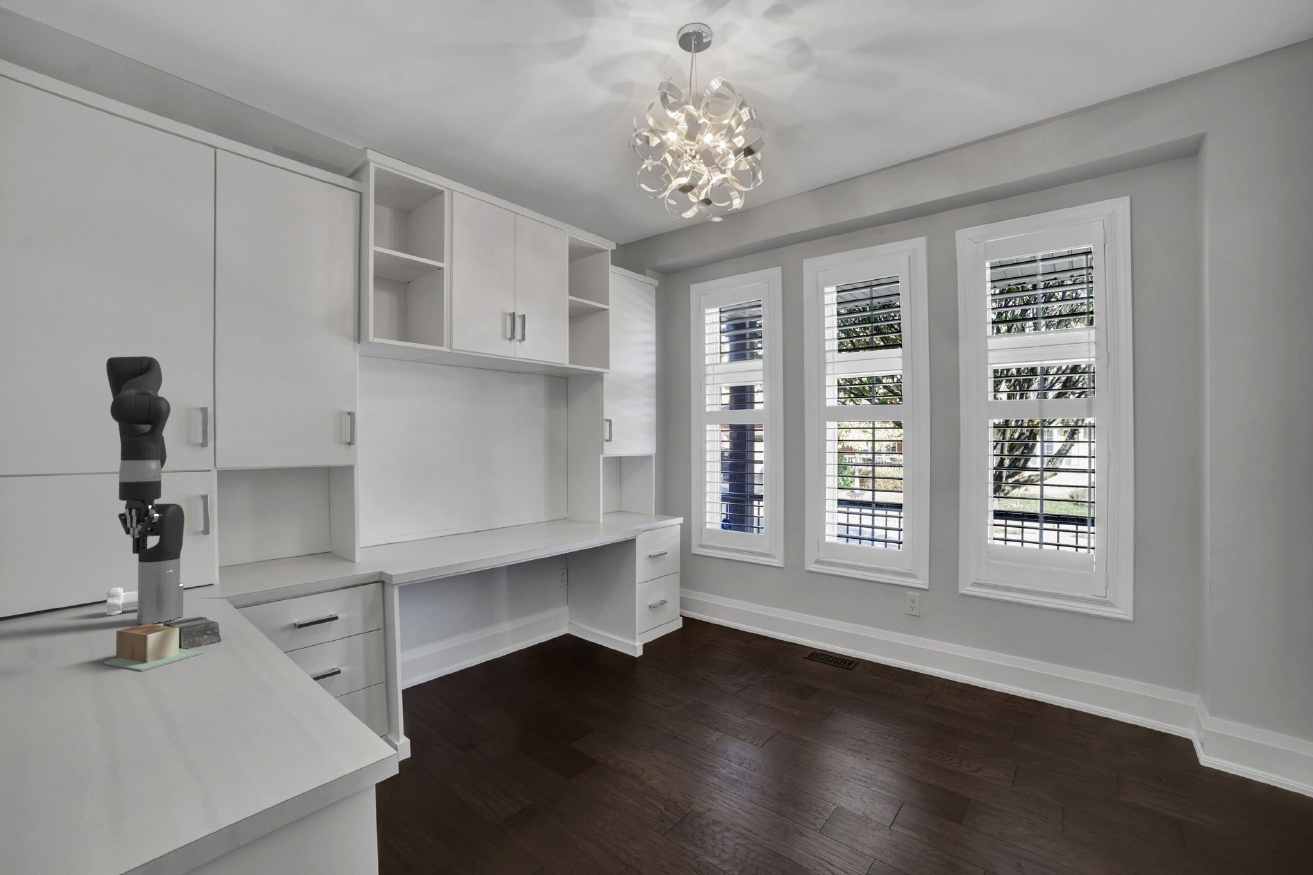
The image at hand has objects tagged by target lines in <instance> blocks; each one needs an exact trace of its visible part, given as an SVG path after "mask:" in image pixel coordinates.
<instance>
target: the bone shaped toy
mask: <svg viewBox="0 0 1313 875" xmlns="http://www.w3.org/2000/svg"><path fill="white" fill-rule="evenodd" d="M105 606H106V616H109V615H111V614H115V613H121V614H122V612H123V611H124V609H129V608H137V607H138V590H135V591H126V592H124V588H123V587H119V586H118V587H112V588H109V590H108V591H107V593H106V604H105Z"/></svg>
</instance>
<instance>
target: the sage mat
mask: <svg viewBox="0 0 1313 875" xmlns="http://www.w3.org/2000/svg"><path fill="white" fill-rule="evenodd" d="M202 654H203V651H199V650H192V649H181V648H179V654H178V655H175V656H171V657H168V658H164V659H160V660H157V661H153V662H150V663H146V662H141V661H136V660H130V659H124V658H119V657H116V658H114V659H111V660H106V661H104V662H103V664H104V665H109V666H114V667H118V668H123V669H128V670H133V671H139V672H143V671H144V672H146V671H148V670H151V669H155V668H158V667H162V666H165V665H169V664H172V663H176V662H179V661H182V660H185V659H190V658H193V657H196V656H199V655H202Z"/></svg>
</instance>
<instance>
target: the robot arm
mask: <svg viewBox="0 0 1313 875" xmlns="http://www.w3.org/2000/svg"><path fill="white" fill-rule="evenodd" d="M105 368H106V375H107V376H106V377H107V380H108V384H109V388H110V391H111V396H112V399H113V400H112V402H111V404H110V410H109V411H110V416H111V418H112V419H113V420H114V421H115V422H116V423H118V432H119V439H120V465H119V470H118V500H119V501H121V502H126V503H125V506H124V512H123V513H118V519H119V521H120V523H121V526H122V528H123V530H124V532H125V535H127V536H130V539H132V544H131V545H132V554H135V555H137V556H138V557H137V560H138V561H137V563H138V564H137V591H138V607H136V608H137V615H136V619H137V620H136V621H137V622H136V623H137V624H138V625H143V624H153V625H155V624H159V623H158V622H161V623H165V622H166V621H167V622H170V621H169V620H171V621H175V620H178V619H179V618H183V617H184V584H183V583H181V552H182V550H183V545H184V543H183V542H184V530H185V512H184V510H183V507H182V506H181V505H180V504H179V503H155V500H159V499H161V497H162V470H163V468H164V466H165V464H166V461H167V449H166V443H165V437H164V435H163V434H164V430H165V427H166V424H167V423H168V422H167V421H168V420H169V417H170V414H171V404H170V402H169V400H167V399H166V397H163V396H162V395H161V396H160V395H159V391H160V389H161V386H162V383H163V374H162V368H161V365H160V362H159V361H158V360H157V359H156V358H155V357H152V356H145V355H144V356H114V357H113V356H112V357H109V358H107V361H106V367H105ZM148 537H158V542H157V543H156V544H155V545H153V546H151V547H148ZM178 617H179V618H178Z"/></svg>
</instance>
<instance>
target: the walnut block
mask: <svg viewBox="0 0 1313 875" xmlns="http://www.w3.org/2000/svg"><path fill="white" fill-rule="evenodd" d="M115 637H116V639H115V642H116V643H115V644H116V645H115V657H116V658H124V659H130V660H136V661H141V662H146V663H150V662H153V661H157V660H160V659H164V658H168V657H171V656H175V655H178V654H179V628H175V627H167V626H163V625H160V624H159V625H158V624H138V625H135V626H131V627H127V628H123V629H119V630H116V636H115Z"/></svg>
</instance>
